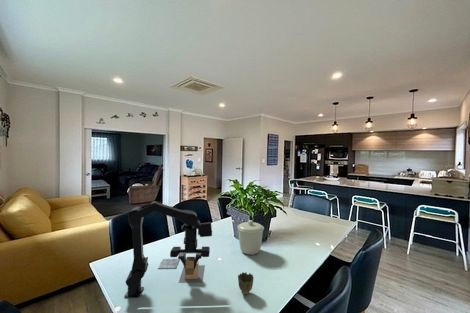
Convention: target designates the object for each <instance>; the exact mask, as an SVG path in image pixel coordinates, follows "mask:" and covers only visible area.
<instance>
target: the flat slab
mask: <svg viewBox="0 0 470 313" xmlns="http://www.w3.org/2000/svg"><path fill="white" fill-rule="evenodd" d="M199 263H200V261H198V262H197V264H196V267H195V272H194V275H185V278H184V279H198V277H199Z"/></svg>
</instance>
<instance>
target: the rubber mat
mask: <svg viewBox="0 0 470 313" xmlns="http://www.w3.org/2000/svg"><path fill="white" fill-rule="evenodd" d="M205 266H206V265H203V264H200V265H199V277H198V279H184V278H185V268H184V267H183V268H182V271H181V274H180V277H179V279H178V283H179V284H183V283H184V284H189V283H190V284H191V283H192V284H193V283H198V284H199V283H203V282H204V281H203V280H204V273H205Z"/></svg>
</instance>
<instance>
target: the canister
mask: <svg viewBox="0 0 470 313" xmlns="http://www.w3.org/2000/svg"><path fill="white" fill-rule="evenodd" d="M264 229H265V227H264V226H263V225H262V224H260V223H258V222H254V220H252V219H250V220H248V221H244V222H242V223H240V224H238V225H237V231H238V240H239V249H240V251H241V253H243V254H245V255H249V256H254V255H257V254H259V253H260V251H261V248H262V242H263V241H262V240H263V234H264Z"/></svg>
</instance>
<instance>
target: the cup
mask: <svg viewBox="0 0 470 313" xmlns="http://www.w3.org/2000/svg"><path fill="white" fill-rule="evenodd" d="M254 278H255V277H254V275H253V273H252V274H251V272H250V273H247V272H244V271H243V272H241V273H239V274H238V276H237V282H238V288H239V290H240V292H241V293H242V295H244V296H248V295H250V292H251V290H252V289H253V284H254Z"/></svg>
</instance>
